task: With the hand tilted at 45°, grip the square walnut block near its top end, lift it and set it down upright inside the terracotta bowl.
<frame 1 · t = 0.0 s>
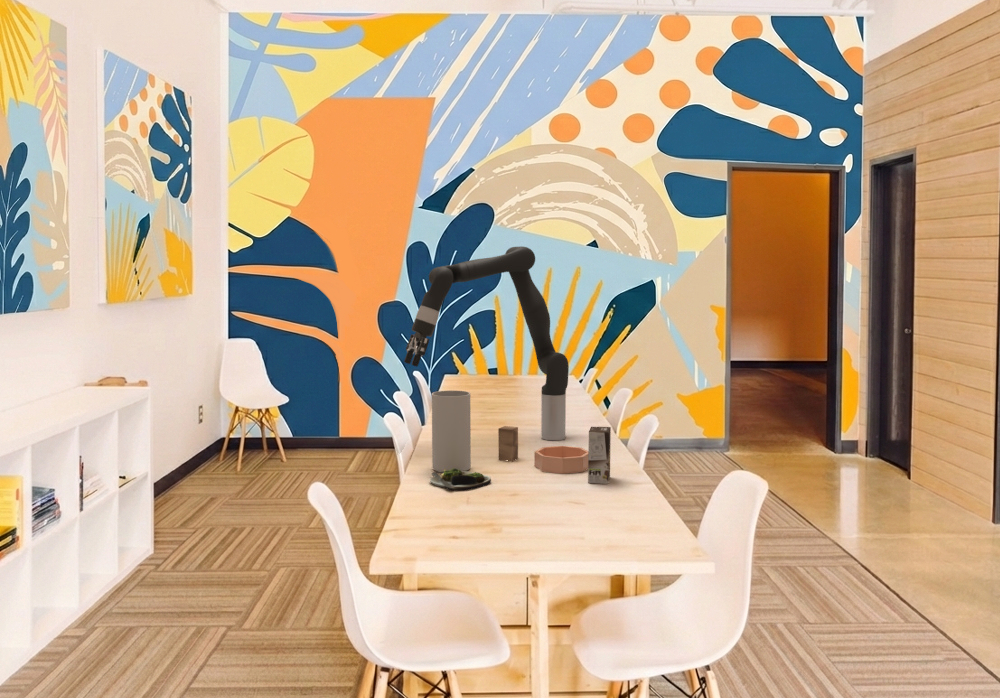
hand: (410, 364, 291), 31 cm above the table, tool tilted 20°, fingers open, 8 cm apart
walnut block: (508, 459, 284), on the table
coffee box: (599, 480, 257), on the table
cylinder vase: (451, 469, 271), on the table
bowl: (562, 466, 273), on the table
salad plate: (460, 485, 253), on the table
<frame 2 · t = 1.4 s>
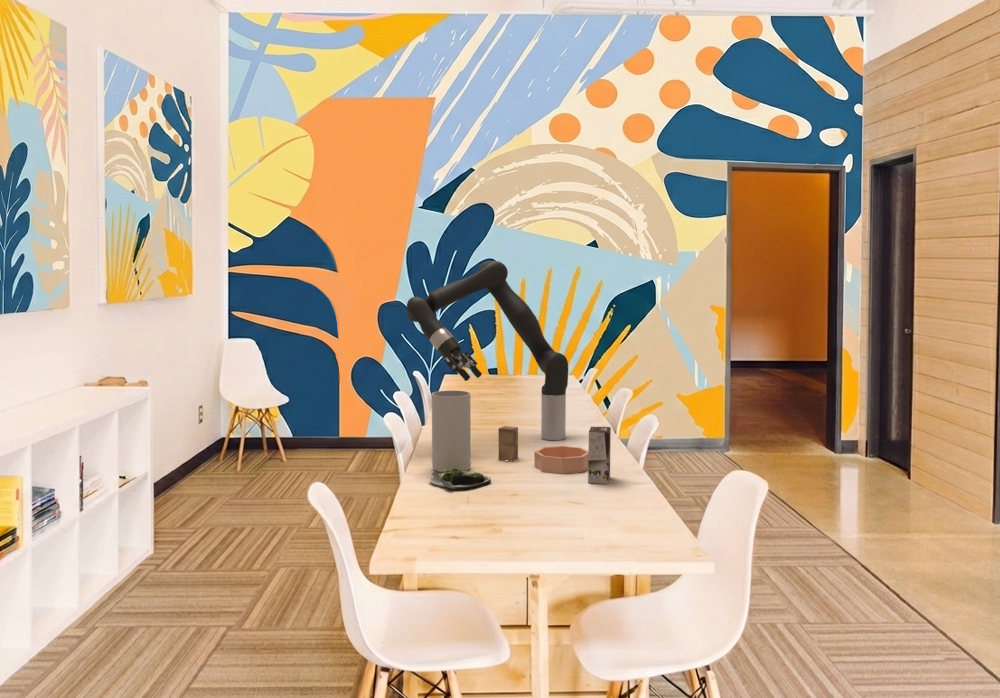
hand: (474, 377, 286), 27 cm above the table, tool tilted 45°, fingers open, 8 cm apart
nothing on the table moved.
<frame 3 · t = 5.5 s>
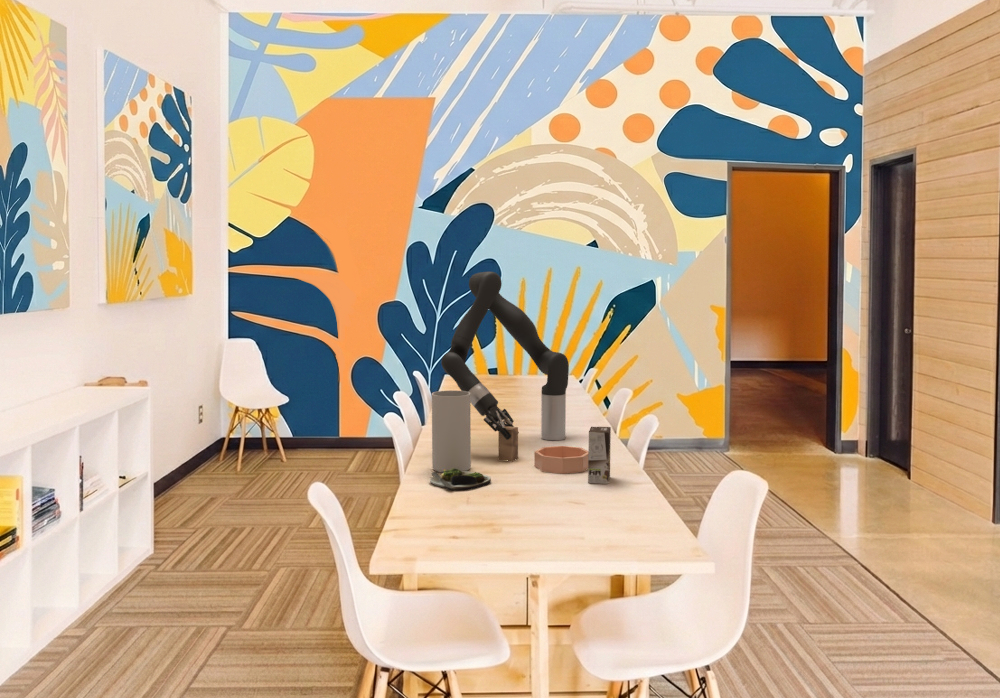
hand: (513, 436, 282), 8 cm above the table, tool tilted 45°, fingers closed on walnut block, 5 cm apart
walnut block: (508, 459, 284), on the table, touching gripper
everything else where it was.
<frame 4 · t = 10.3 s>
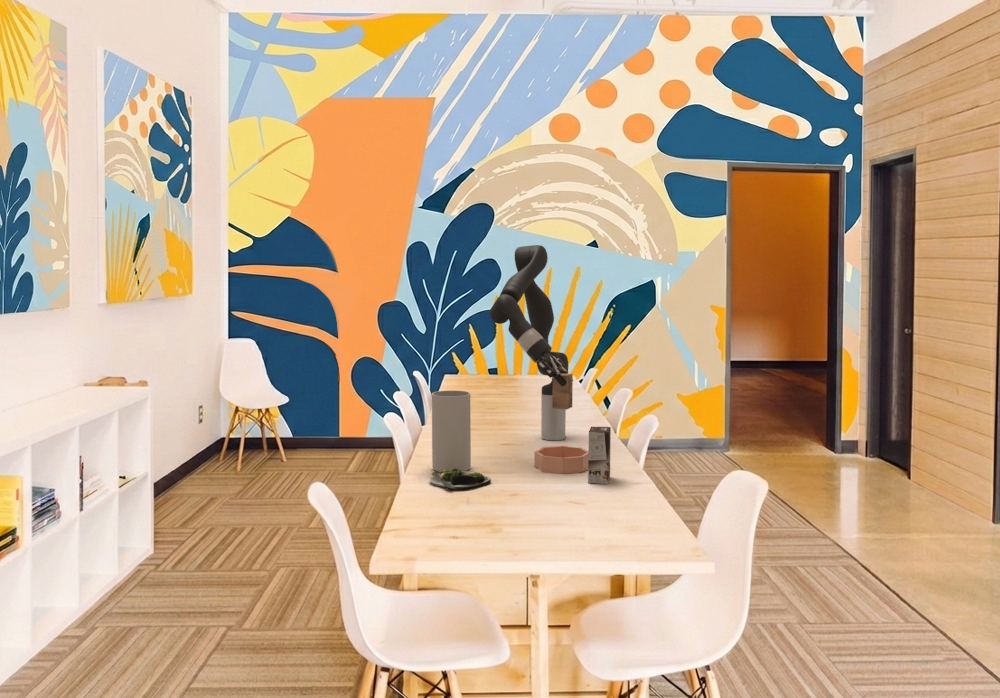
hand: (567, 383, 270), 28 cm above the table, tool tilted 45°, fingers closed on walnut block, 5 cm apart
walnut block: (562, 407, 271), point 20 cm above the table, touching gripper
everything else where it was.
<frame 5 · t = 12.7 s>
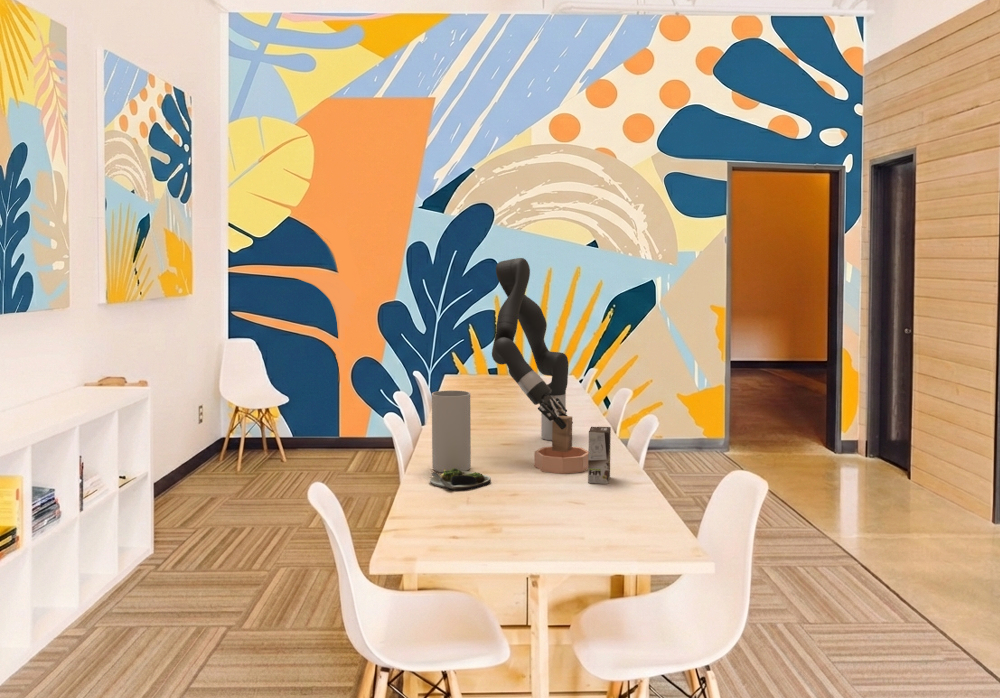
hand: (567, 426, 271), 14 cm above the table, tool tilted 45°, fingers closed on walnut block, 5 cm apart
walnut block: (562, 450, 273), point 6 cm above the table, touching gripper
everything else where it was.
when the fingers open (11 cm above the table, at t = 14.7 s): walnut block drops 1 cm, resting on bowl.
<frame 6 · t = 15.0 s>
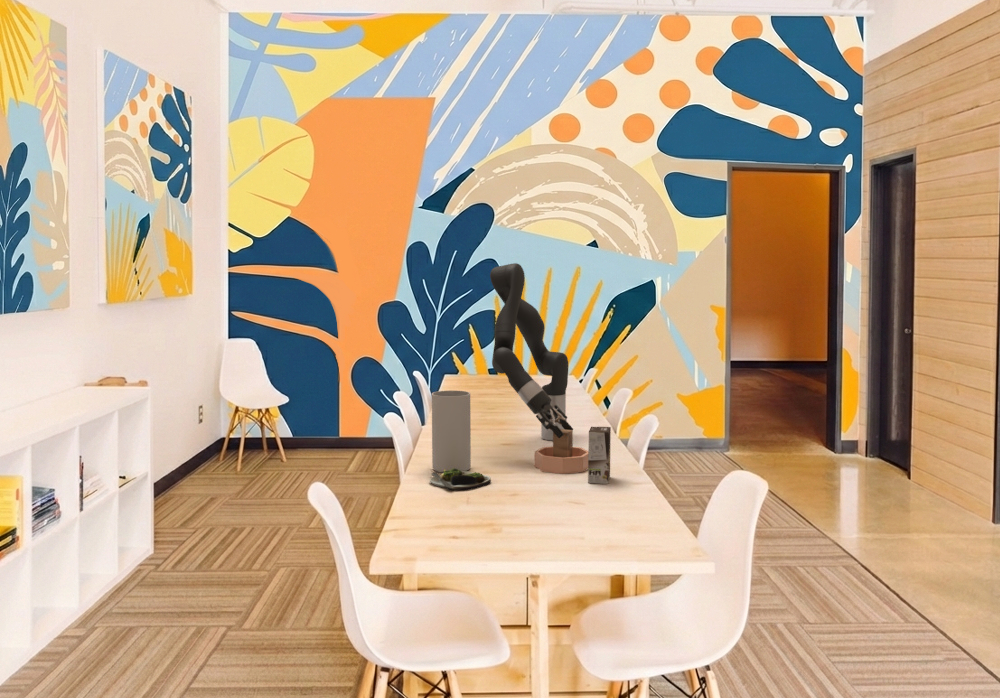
hand: (566, 434, 272), 11 cm above the table, tool tilted 45°, fingers open, 8 cm apart
walnut block: (562, 463, 273), point 1 cm above the table, touching bowl
everything else where it was.
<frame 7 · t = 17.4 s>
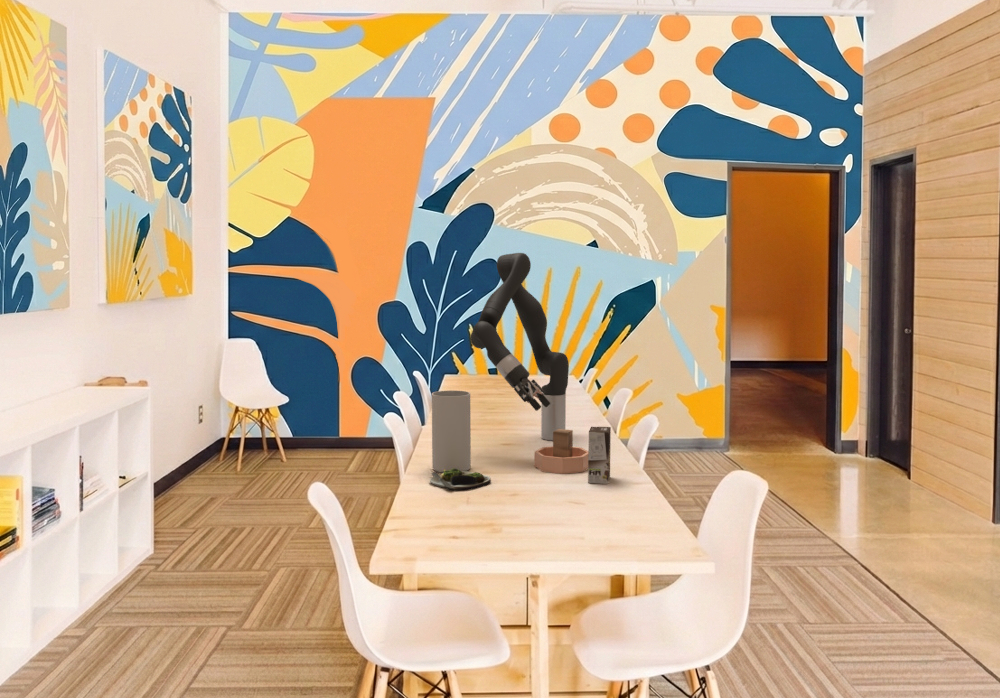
hand: (543, 407, 274), 19 cm above the table, tool tilted 45°, fingers open, 8 cm apart
nothing on the table moved.
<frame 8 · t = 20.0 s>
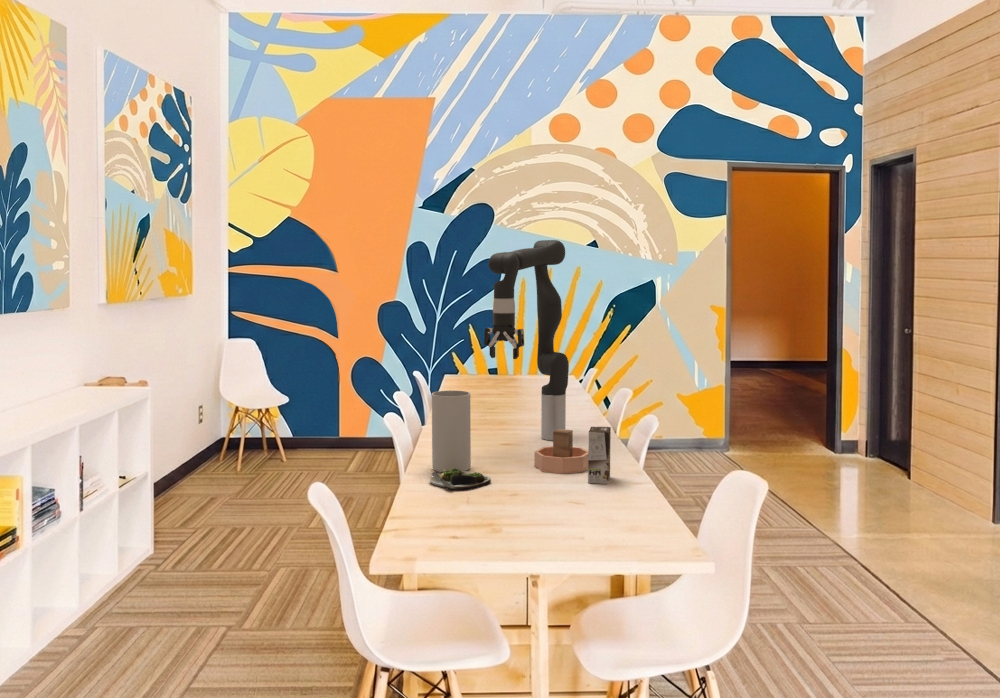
hand: (504, 358, 286), 34 cm above the table, tool pointing down, fingers open, 8 cm apart
nothing on the table moved.
at the end: walnut block inside the target area on the bowl (0.1 cm from its centre), point 1.0 cm above the bowl's base; walnut block tilted 0°; the gripper is holding nothing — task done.
